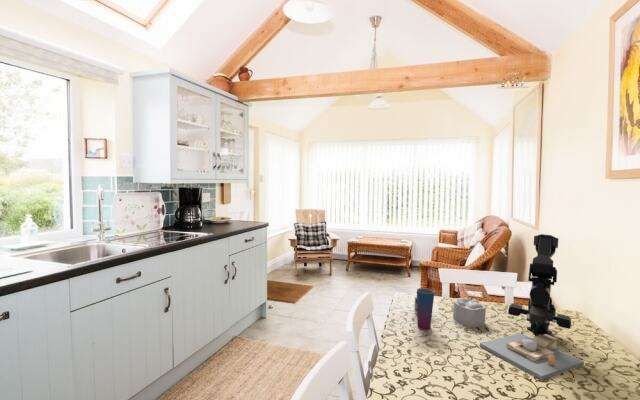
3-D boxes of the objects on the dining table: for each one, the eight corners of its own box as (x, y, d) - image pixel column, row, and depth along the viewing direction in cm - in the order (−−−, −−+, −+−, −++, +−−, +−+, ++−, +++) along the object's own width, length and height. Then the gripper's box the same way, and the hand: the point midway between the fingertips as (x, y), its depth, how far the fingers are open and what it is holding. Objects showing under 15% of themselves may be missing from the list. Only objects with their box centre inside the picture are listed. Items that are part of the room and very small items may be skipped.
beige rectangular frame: (533, 361, 109) (534, 350, 108) (506, 346, 118) (506, 337, 118) (565, 352, 115) (565, 342, 115) (536, 339, 124) (537, 330, 124)
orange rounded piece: (550, 363, 108) (550, 354, 108) (555, 365, 106) (556, 356, 106) (547, 364, 107) (547, 355, 107) (552, 366, 106) (552, 357, 106)
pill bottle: (412, 310, 153) (413, 289, 152) (424, 310, 153) (425, 289, 153) (417, 315, 147) (418, 293, 146) (429, 315, 148) (430, 293, 147)
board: (519, 336, 130) (520, 322, 129) (583, 365, 110) (584, 349, 109) (479, 346, 121) (480, 332, 120) (541, 379, 101) (542, 363, 100)
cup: (433, 331, 131) (435, 294, 131) (415, 329, 133) (417, 292, 132) (431, 324, 138) (433, 288, 137) (414, 322, 140) (416, 287, 139)
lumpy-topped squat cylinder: (469, 327, 136) (470, 306, 136) (446, 315, 148) (447, 296, 148) (488, 324, 140) (489, 304, 139) (464, 312, 152) (465, 294, 152)
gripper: (507, 295, 120) (504, 338, 121) (573, 309, 109) (568, 356, 110) (511, 288, 128) (508, 327, 130) (572, 300, 117) (568, 343, 118)
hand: (536, 338), depth 122 cm, fingers closed
